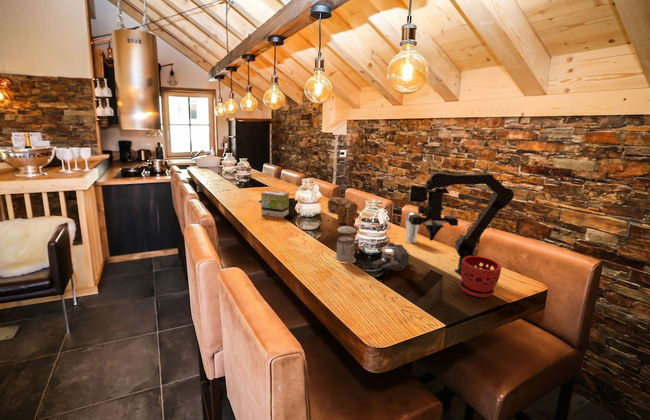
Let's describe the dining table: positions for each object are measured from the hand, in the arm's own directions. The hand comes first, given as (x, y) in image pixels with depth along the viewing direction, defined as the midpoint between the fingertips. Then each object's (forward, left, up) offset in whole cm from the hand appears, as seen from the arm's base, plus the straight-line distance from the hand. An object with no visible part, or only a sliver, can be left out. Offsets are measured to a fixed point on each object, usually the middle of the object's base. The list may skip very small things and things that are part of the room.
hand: (430, 240), depth 147 cm
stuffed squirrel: (+73, +14, -13) cm, 75 cm away
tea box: (+97, +55, -13) cm, 112 cm away
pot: (+4, +16, -13) cm, 21 cm away
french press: (+15, +32, -13) cm, 38 cm away
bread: (+99, +10, -13) cm, 100 cm away
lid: (+2, +14, -7) cm, 15 cm away
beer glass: (+36, -10, -13) cm, 40 cm away
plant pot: (-22, -8, -13) cm, 27 cm away
